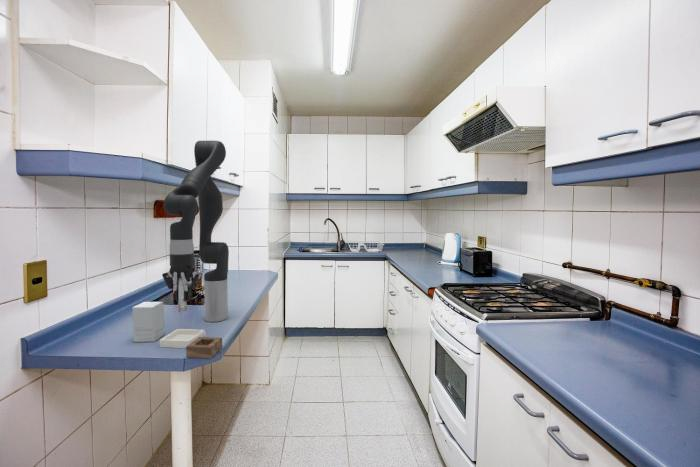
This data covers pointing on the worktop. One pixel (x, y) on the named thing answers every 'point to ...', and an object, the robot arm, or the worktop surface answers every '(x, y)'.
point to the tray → (181, 338)
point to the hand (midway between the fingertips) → (182, 300)
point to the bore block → (204, 347)
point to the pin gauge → (181, 297)
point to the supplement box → (148, 321)
